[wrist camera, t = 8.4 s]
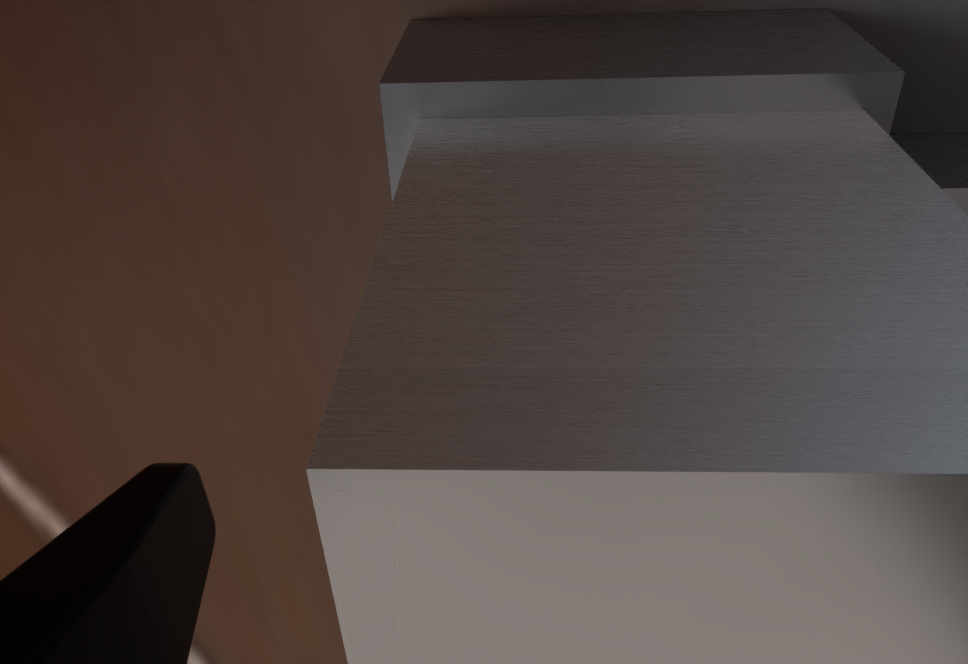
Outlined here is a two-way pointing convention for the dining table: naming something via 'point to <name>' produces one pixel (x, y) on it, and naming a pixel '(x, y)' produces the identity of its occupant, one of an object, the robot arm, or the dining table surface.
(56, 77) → the dining table surface
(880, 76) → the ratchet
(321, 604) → the dining table surface
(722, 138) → the plain white cube
